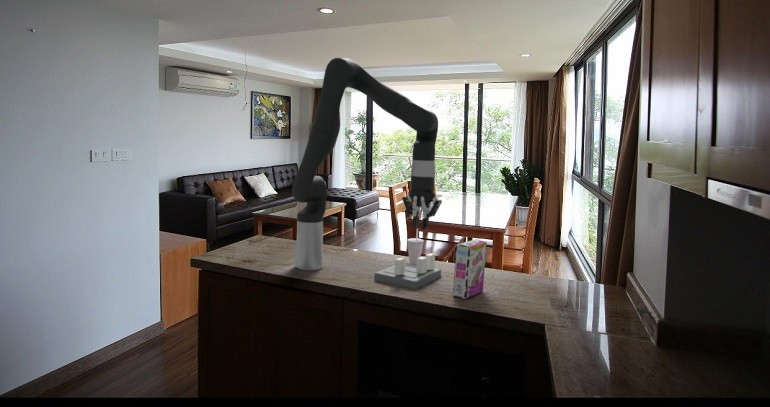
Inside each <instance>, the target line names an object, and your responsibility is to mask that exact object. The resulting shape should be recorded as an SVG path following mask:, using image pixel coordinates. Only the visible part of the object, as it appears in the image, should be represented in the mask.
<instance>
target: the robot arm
mask: <svg viewBox="0 0 770 407" xmlns="http://www.w3.org/2000/svg"><path fill="white" fill-rule="evenodd" d="M346 88H350V89H352V90H356V91H358V92H360V93H362V94H363V95H365V96H367V97H368V98H369V99H370V100H372V102H374V103H375V104H376V105H377V106H378V107H379V108H381V109H382V110H383V111H385V112H386V113H388V114H389V115H391V116H393V117H395V118H396V119H398V120H401V121H402V122H403V123H404V124H405V125H407V126H408V127H409V128H411V129H413V130H414V131H416V137H415V142H414V143H413V146H412V156H411V157H412V159H411V160H412V162H411V166H410V167H411V168H410V185H409V186H410V192H409V194H408V195H406V196H402V198H401V199H402V202H403V205H404V208H405V209H406V213H407V215H411V216H412V227H413V229H416V230H417V229H419V228H420V212H422V219H421V220H422V221H421V230H424V231H425V230H428V228H429V225H430V218H432V217H435V216H436V213H437V212H438V210H439V208H440V207H441V205H442V203H443V200H442V199H438V198H437V197H436V195H435V193H434V191H435V181H436V180H435V178H436V160H435V159H436V142H437V137H438V133H439V132H438V130H439V119H438V116H437V115H436V114H435V113H434V112H433V111H430V110H427V108H424V107H422V106H420V105H418V104H416V103H414V102H413V101H412V100H411V99H410V98H409V97H407V96H405V95H403V94H402V93H399V92H398V91H397V90H395V89H394V88H392V87H390V86H389V85H386V84H385V83H384V82H382V81H380V80H378V79H377V78H375V77H374V76H373V75H372V74H370V73H369V72H368V71H366V69H364V68H363V67H362V66H361V65H360V64H358V63H357V62H356V61H355V60H354V59H353V58H352V59H351V58H346V57H334V58H332V59H331V60H330V61H329V62H328V63H327V65H326V67H325V71H324V76H323V81H322V88H321V92H320V98H319V100H318V104H317V108H316V111H315V115H314V119H313V122H312V125H311V128H310V132H309V136H308V140H307V144H306V147H305V149H304V153H303V155H302V156H303V157H302V160H301V162H300V164H299V167H298V170H297V172H296V174H295V177H294V180H293V183H292V189H291V190H292V191H291V192H292V197H293V198H294V200H295V201H296V202H298V203H306V205H305V207H304V208H302V209H301V210H300V211H298V212H297V214H296V240H295V241H294V267H295V268H296V269H298V270H300V271H317V270H321V269H322V268H323V254H324V253H323V247H324V246H323V245H324V244H323V243H324V242H323V241H324V240H323V239H324V216H325V214H326V207H327V206H326V205H327V183H326V182H325V179H324V178H323V177H322V176H320V175H316V173H317V171H318V169H319V167H320V166H321V165H322V163H323V162H324V161H325V160H326V158H327V157H329V155H330V154H331V153H332V151H333V150H334V149H335V147H336V144H337V142H338V141H337V140H338V137H339V134H340V130H341V114H340V113H341V103H342V100H343V96H344V93H345V91H346ZM431 203H432V207H431Z"/></svg>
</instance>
